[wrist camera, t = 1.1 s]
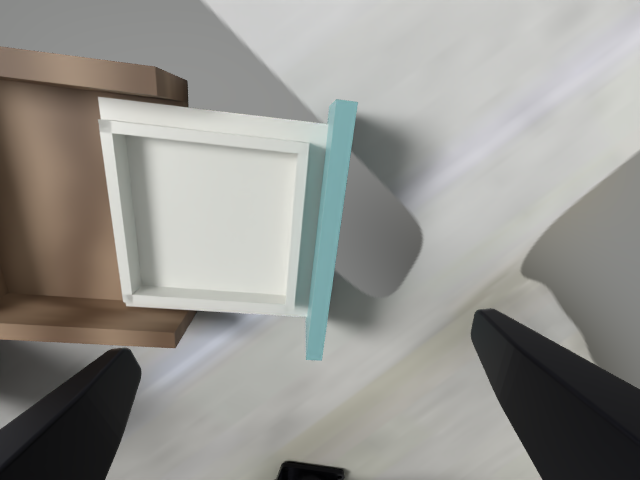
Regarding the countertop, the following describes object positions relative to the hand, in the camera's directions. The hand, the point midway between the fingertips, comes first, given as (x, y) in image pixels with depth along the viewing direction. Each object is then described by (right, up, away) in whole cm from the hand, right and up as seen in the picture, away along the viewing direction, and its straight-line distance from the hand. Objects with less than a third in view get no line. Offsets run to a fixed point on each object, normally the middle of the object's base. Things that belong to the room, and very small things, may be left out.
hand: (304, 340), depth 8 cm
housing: (-14, +5, +12) cm, 19 cm away
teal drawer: (-6, +4, +12) cm, 13 cm away
